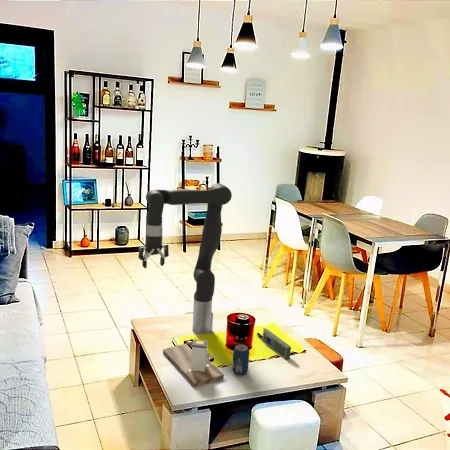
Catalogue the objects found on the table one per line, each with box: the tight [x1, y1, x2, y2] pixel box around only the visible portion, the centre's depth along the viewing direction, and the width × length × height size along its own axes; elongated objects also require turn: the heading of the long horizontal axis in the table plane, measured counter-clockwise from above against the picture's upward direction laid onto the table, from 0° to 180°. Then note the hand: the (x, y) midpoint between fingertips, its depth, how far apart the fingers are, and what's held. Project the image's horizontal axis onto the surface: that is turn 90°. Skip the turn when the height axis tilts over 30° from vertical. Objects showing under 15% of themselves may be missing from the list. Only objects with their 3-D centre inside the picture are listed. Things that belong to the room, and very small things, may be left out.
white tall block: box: [191, 338, 209, 372], centre depth 200 cm, size 5×6×12 cm
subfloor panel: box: [162, 342, 225, 388], centre depth 206 cm, size 14×30×2 cm, turn 32°
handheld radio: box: [256, 327, 292, 361], centre depth 226 cm, size 7×3×25 cm
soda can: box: [231, 343, 250, 377], centre depth 202 cm, size 7×7×12 cm
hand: (153, 266), depth 221 cm, fingers open, 8 cm apart
